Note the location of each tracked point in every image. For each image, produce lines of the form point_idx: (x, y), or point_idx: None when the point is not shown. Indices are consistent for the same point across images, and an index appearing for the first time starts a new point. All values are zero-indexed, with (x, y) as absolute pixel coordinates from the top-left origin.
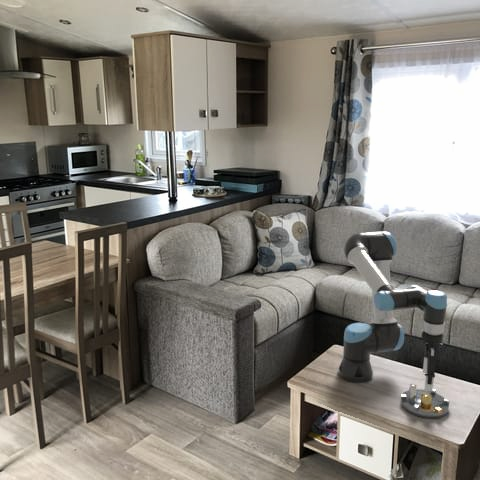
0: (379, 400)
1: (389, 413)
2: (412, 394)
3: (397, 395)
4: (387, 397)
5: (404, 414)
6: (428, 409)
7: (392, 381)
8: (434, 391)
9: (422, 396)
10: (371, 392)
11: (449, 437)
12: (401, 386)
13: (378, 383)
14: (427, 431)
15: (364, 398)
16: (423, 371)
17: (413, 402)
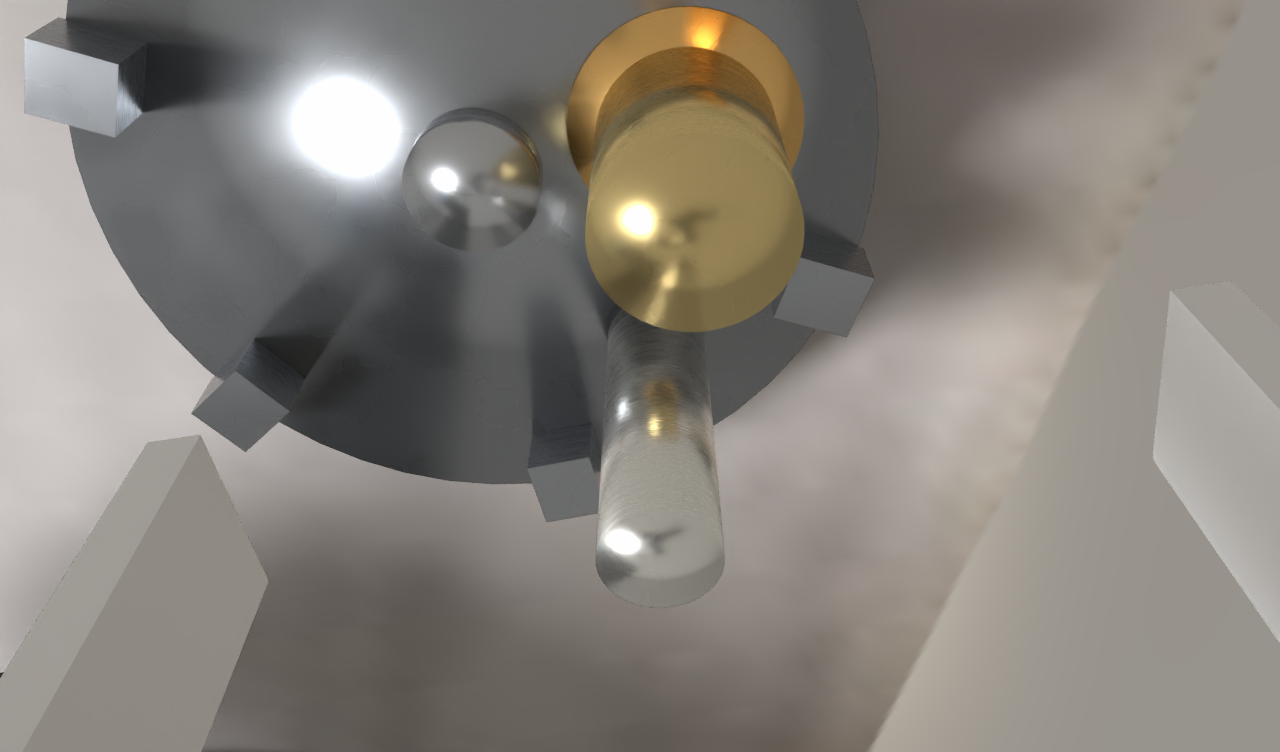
0: (624, 628)
1: (880, 502)
2: (714, 449)
3: (384, 484)
4: (505, 570)
5: (836, 350)
6: (762, 86)
7: (60, 579)
8: (113, 60)
9: (757, 304)
10: (488, 714)
11: None
12: (108, 474)
13: (231, 690)
14: (1213, 2)
15: (657, 744)
16: (253, 596)
17: (700, 340)
